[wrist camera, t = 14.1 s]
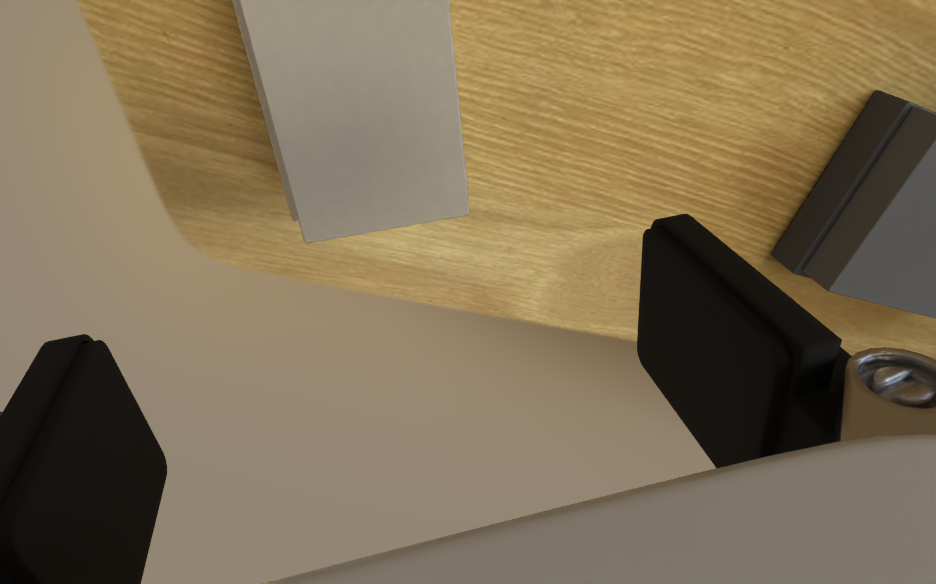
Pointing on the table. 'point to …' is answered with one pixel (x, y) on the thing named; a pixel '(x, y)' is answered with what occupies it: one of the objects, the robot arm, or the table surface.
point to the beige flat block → (362, 110)
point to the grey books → (874, 212)
